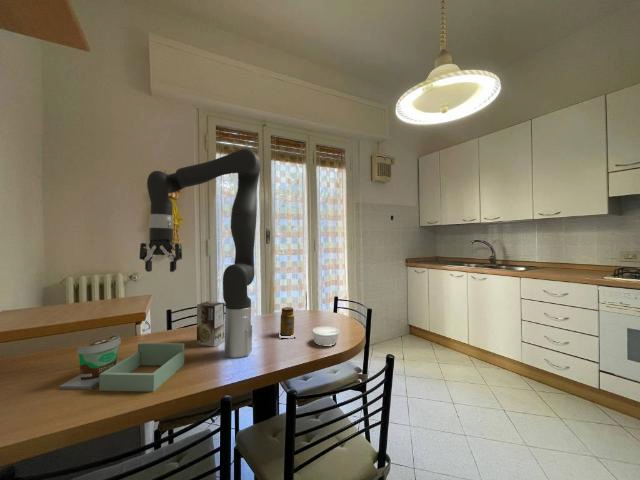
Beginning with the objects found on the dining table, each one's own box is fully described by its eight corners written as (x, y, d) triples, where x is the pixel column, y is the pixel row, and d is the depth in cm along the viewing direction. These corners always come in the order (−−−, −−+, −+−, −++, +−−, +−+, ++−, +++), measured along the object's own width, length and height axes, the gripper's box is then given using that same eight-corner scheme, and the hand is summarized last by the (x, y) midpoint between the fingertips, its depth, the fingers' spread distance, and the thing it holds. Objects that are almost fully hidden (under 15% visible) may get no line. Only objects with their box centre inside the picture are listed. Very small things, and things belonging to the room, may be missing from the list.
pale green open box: (184, 364, 94) (184, 343, 94) (153, 391, 77) (154, 365, 77) (139, 363, 94) (139, 342, 94) (99, 390, 77) (99, 365, 77)
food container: (94, 384, 78) (95, 348, 79) (75, 382, 79) (76, 346, 79) (130, 364, 91) (131, 334, 91) (113, 363, 92) (114, 333, 92)
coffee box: (224, 341, 115) (225, 302, 115) (214, 347, 109) (214, 305, 109) (207, 338, 118) (207, 300, 118) (195, 344, 112) (196, 303, 112)
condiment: (293, 332, 128) (294, 306, 128) (296, 338, 120) (296, 310, 120) (278, 333, 127) (278, 306, 127) (279, 339, 119) (279, 311, 119)
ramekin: (331, 350, 108) (331, 336, 108) (306, 344, 113) (307, 331, 113) (343, 341, 117) (343, 329, 118) (320, 336, 123) (320, 324, 123)
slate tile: (131, 364, 93) (131, 361, 93) (91, 389, 77) (91, 386, 77) (104, 363, 93) (104, 361, 93) (59, 389, 77) (59, 386, 77)
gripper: (185, 228, 106) (185, 270, 105) (148, 227, 106) (147, 270, 106) (175, 227, 98) (174, 273, 98) (135, 226, 98) (134, 272, 98)
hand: (160, 271), depth 102 cm, fingers open, 8 cm apart
